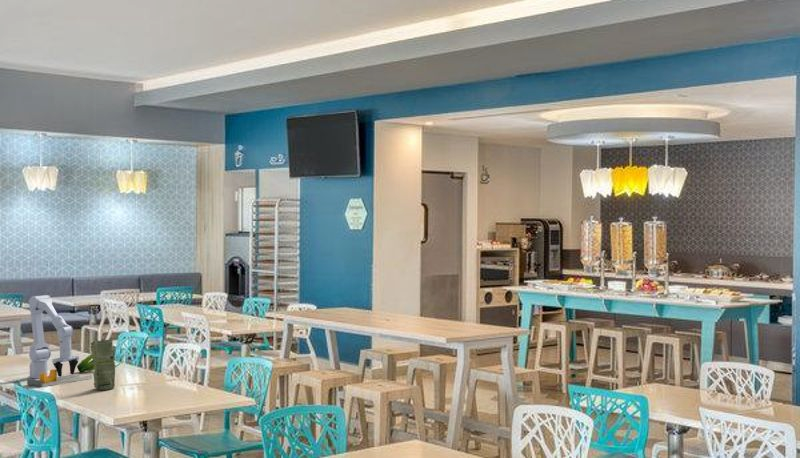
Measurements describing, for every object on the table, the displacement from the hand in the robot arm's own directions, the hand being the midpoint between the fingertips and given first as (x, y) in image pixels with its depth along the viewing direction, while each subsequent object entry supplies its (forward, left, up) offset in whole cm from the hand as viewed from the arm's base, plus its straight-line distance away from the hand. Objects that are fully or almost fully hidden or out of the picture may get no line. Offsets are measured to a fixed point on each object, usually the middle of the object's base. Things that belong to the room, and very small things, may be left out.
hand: (66, 375), depth 485 cm
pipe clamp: (0, -11, -3) cm, 12 cm away
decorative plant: (-14, +33, -3) cm, 36 cm away
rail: (0, -4, -3) cm, 5 cm away
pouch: (+37, -4, -3) cm, 37 cm away
